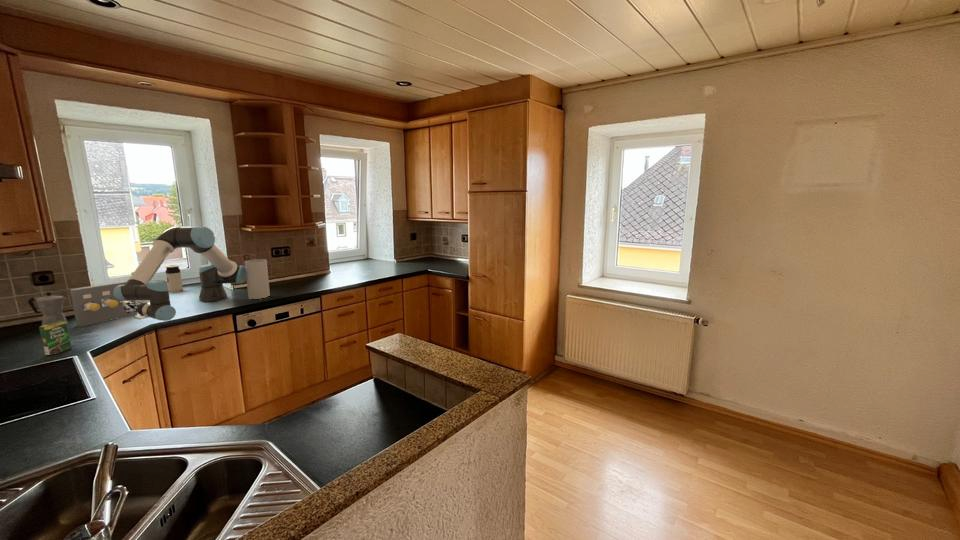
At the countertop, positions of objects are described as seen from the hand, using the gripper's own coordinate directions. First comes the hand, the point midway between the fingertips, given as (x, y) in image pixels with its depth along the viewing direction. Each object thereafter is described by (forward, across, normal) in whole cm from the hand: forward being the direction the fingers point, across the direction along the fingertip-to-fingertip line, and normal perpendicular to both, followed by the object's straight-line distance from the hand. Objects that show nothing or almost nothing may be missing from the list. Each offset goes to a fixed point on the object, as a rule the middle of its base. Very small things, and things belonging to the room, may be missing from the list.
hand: (124, 303), depth 201 cm
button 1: (+10, -9, -2) cm, 14 cm away
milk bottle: (+36, +23, -11) cm, 44 cm away
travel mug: (+53, +51, -10) cm, 75 cm away
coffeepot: (+26, -20, -11) cm, 34 cm away
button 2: (+14, +6, -2) cm, 16 cm away
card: (+5, +12, -10) cm, 16 cm away
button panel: (+15, -2, -10) cm, 18 cm away
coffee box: (-21, -34, -11) cm, 41 cm away
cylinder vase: (-14, +65, -11) cm, 68 cm away
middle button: (+10, -2, -2) cm, 11 cm away
